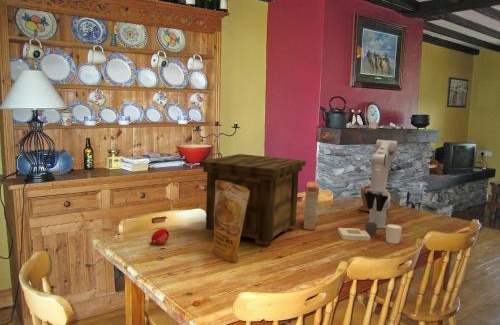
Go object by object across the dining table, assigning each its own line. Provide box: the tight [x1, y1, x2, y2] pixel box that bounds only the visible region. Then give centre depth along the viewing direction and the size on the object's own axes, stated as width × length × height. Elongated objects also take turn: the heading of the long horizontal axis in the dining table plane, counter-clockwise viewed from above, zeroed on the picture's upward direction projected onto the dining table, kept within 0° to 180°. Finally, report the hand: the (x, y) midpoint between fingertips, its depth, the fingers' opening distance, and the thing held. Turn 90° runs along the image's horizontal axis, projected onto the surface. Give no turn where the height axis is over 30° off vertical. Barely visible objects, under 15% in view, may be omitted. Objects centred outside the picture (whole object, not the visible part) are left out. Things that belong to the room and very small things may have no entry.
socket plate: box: [337, 227, 371, 242], centre depth 182 cm, size 11×12×3 cm
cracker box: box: [302, 181, 320, 231], centre depth 194 cm, size 14×6×21 cm, turn 168°
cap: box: [150, 228, 170, 246], centre depth 163 cm, size 8×6×6 cm
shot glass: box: [385, 223, 403, 245], centre depth 176 cm, size 7×7×7 cm
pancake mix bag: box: [212, 180, 250, 264], centre depth 150 cm, size 7×19×28 cm, turn 38°
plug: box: [365, 221, 378, 236], centre depth 186 cm, size 4×4×5 cm
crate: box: [199, 153, 307, 246], centre depth 181 cm, size 35×35×33 cm
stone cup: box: [359, 185, 390, 214], centre depth 226 cm, size 15×12×15 cm
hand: (374, 210), depth 181 cm, fingers open, 7 cm apart
